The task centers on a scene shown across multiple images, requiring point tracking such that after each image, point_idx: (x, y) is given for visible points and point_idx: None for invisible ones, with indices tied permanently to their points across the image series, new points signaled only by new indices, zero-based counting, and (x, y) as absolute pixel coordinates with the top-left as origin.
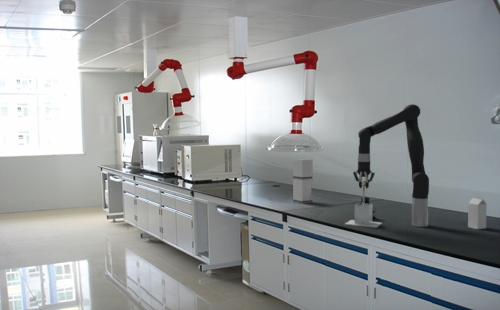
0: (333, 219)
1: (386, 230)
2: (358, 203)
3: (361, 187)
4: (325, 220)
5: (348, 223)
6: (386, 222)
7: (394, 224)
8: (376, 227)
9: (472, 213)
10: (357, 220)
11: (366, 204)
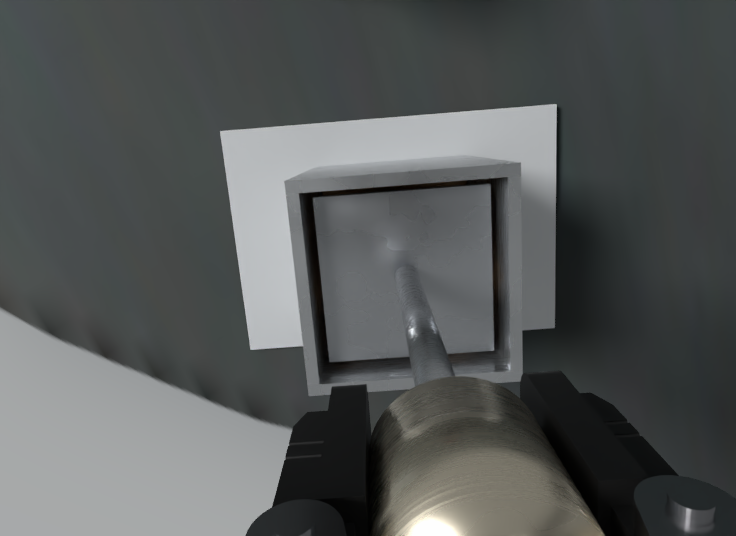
0: (39, 161)
1: (651, 381)
2: (302, 225)
3: (368, 416)
4: (3, 253)
5: (275, 320)
6: (584, 11)
7: (681, 76)
8: (550, 326)
9: None
10: None
11: (422, 182)
